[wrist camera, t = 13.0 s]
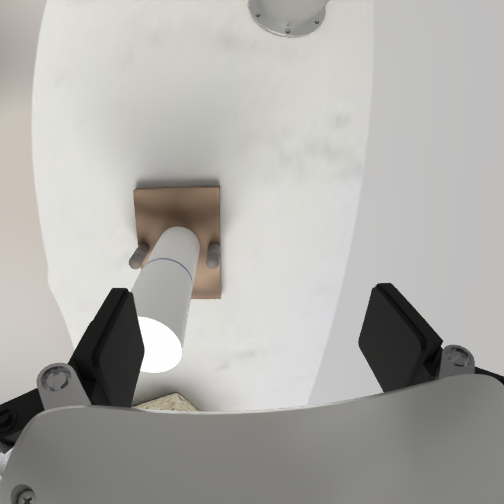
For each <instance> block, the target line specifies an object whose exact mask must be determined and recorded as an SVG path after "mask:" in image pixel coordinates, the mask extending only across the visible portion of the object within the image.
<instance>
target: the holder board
mask: <svg viewBox="0 0 504 504" xmlns="http://www.w3.org/2000/svg"><path fill="white" fill-rule="evenodd" d="M133 192H134V205H135V217H136V227H137V237H138V246H139V247H138V248H137V249H136V251H135V252H134V254H133V255H132V257H131V258H130V260H129V265H130V267H131V268H133V269H138V268H140V266H141V269H143V267H144V265H145V263H146V261H147V260H148V258H149V256H150V254H151V252H152V250H153V249H154V247H155V245H156V243H157V242H158V240H159V238H160V236H161V235H162V234H163V232H165V231H166V230H167V229H169V228H172V227H184V228H187V229H189V230H190V231H192V232H193V233H194V234H195V235H196V237H197V238H198V241H199V245H200V251H199V256H198V261H197V267H196V272H195V277H194V283H193V289H192V294H191V299H221V274H220V186H203V187H164V188H142V189H135V190H134V191H133Z"/></svg>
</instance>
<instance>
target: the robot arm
mask: <svg viewBox="0 0 504 504" xmlns="http://www.w3.org/2000/svg"><path fill="white" fill-rule="evenodd" d="M329 1H330V0H249V11H250V13H251V15H252V17H253V19H254V20H255V21H256V23H257V24H259V25H260V26H261V27H262V28H263V29H265V30H267V31H268V32H271V33H273V34H275V35H279V36H283V37H301V36H305V35H308V34H310V33H312V32H313V31H315V30H316V29H317V28H318V27H319V26H320V25H321V24H322V22H323V20H324V17H325V5H326V4H327V3H328V2H329ZM256 16H259V17H256ZM315 22H316V23H317V24H316V23H315ZM286 32H288V34H287V33H286ZM442 342H443V340H442V339H441V338H440V337H439V336H438V334H437V333H436V332H435V331H434V330H433V329H432V327H431V326H430V325H429V324H428V323H427V322H426V321H425V319H424V318H423V317H422V316H421V315H420V314H419V313H418V312H417V311H416V309H415V308H414V307H413V306H412V305H411V304H410V303H409V302H408V301H407V300H406V298H405V297H404V296H403V295H402V294H401V293H400V292H399V291H398V290H397V289H396V288H395V287H394V286H393V285H392V284H391V283H380V284H377V285H376V287H374V288H373V289H372V291H371V296H370V300H369V304H368V307H367V311H366V315H365V319H364V322H363V326H362V330H361V333H360V337H359V342H358V343H359V347H360V349H361V351H362V353H363V355H364V356H365V358H366V360H367V362H368V364H369V366H370V367H371V369H372V371H373V373H374V375H375V377H376V379H377V380H378V382H379V384H380V386H381V388H382V390H383V392H384V393H380V394H376V395H371V396H366V397H361V398H355V399H350V400H343V401H337V402H331V403H325V404H317V405H310V406H300V407H291V408H280V409H267V410H250V411H171V410H152V409H138V408H130V407H131V403H132V399H133V395H134V391H135V387H136V384H137V380H138V376H139V373H140V369H141V365H142V362H143V358H144V354H145V348H144V343H143V339H142V334H141V330H140V326H139V321H138V316H137V311H136V307H135V301H134V296H133V293H132V292H129V291H128V289H127V288H112V289H111V291H110V293H109V294H108V296H107V298H106V299H105V301H104V303H103V304H102V306H101V308H100V309H99V311H98V313H97V314H96V316H95V318H94V320H93V321H91V323H90V324H89V326H88V328H87V329H86V331H85V333H84V335H83V336H82V338H81V340H80V342H79V344H78V346H77V347H76V349H75V351H74V353H73V355H72V357H71V359H70V361H69V362H68V364H65V363H55V364H51V365H49V366H47V367H45V368H44V369H43V370H42V371H41V372H40V374H39V375H38V377H37V387H38V388H36V389H34V390H32V391H30V392H28V393H25V394H23V395H21V396H19V397H17V398H14V399H12V400H10V401H8V402H5V403H3V404H1V405H0V504H504V377H503V376H500V375H498V374H495V373H492V372H489V371H486V370H483V369H480V368H478V367H475V361H474V357H473V356H472V354H471V353H470V352H469V351H468V350H467V349H465V348H464V347H461V346H458V345H449V346H446V347H445V348H444V349H442V347H441V345H442Z"/></svg>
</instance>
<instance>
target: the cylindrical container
mask: <svg viewBox="0 0 504 504" xmlns="http://www.w3.org/2000/svg"><path fill="white" fill-rule="evenodd" d="M199 251H200V245H199V241H198V238H197V237H196V235H195V234H194V233H193V232H192V231H190V230H189V229H187V228H184V227H172V228H169V229H167V230H166V231H165V232H163V234H162V235H161V236H160V238H159V240H158V242H157V243H156V245H155V247H154V249H153V250H152V252H151V254H150V256H149V258H148V260H147V261H146V263H145V265H144V267H143V269H142V271H141V272H140V274H139V276H138V278H137V280H136V282H135V284H134V286H133V288H132V290H131V292H132V293H133V296H134V301H135V307H136V311H137V316H138V321H139V326H140V330H141V334H142V339H143V343H144V348H145V354H144V358H143V362H142V365H141V369H140V370H141V371H144V372H151V373H158V372H164V371H167V370H170V369H171V368H173V367H174V366H176V365H177V364H178V362H179V361H180V359H181V355H182V349H183V343H184V336H185V330H186V324H187V317H188V311H189V306H190V300H191V294H192V289H193V283H194V277H195V272H196V267H197V261H198V256H199Z"/></svg>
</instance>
